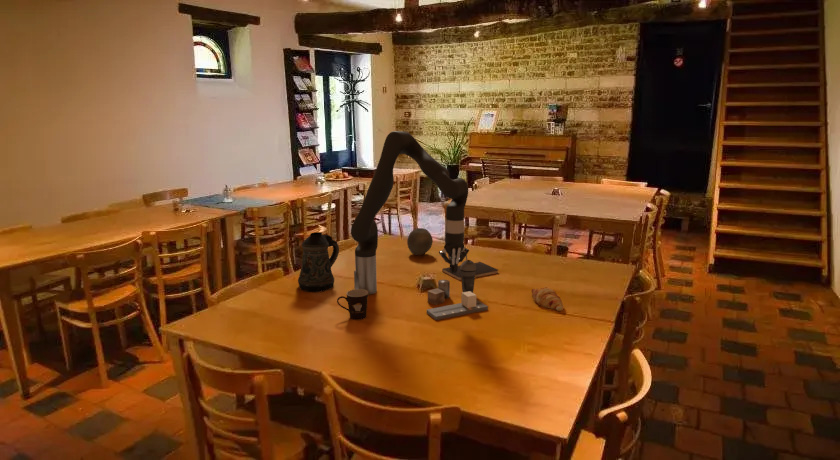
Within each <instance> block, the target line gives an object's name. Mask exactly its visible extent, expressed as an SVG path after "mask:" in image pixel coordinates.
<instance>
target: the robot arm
mask: <svg viewBox="0 0 840 460" xmlns="http://www.w3.org/2000/svg"><path fill="white" fill-rule="evenodd" d="M381 150H382V151H381V154H380V156H379V160H378V163H377V166H376V169H375V171H374V173H373V176H372V178H371V181H370V184H369V186H368V188H367V191H366V195H365V196H364V199H363V201H362V205H361V207H360V209H359V211H358V213H357V215H356V217H355V219H354V221H353V223H352V225H351V227H350V234H351V237H352V239H353V240H354V241H355V242H358V244H357V246H356V247H355V249H354V263H355V264H354V267H355V270H354V271H353V277H354V280H353V283H354V289H363V290H367V291H368V296H369V295H373V294H376V293H377V292H378V291H377V290H378V284H377V280H378V279H377V250H378V246H379V245H378V243H379V242H378V241H379V239H378V237H379V230H378V225H377V223H376V221H375V220H374V219H375V218H376V215H377V214H378V213H379V211H380V210H381V209H382V207H384V205H385V204H386V203H387V201H388V199H389V197H390V196H391V192H392V190H393V187H394V184H395V183H394V182H395V181H394V180H395V179H394V178H395V177H394V168H395V167H394V166H395V164H396V162H397V160H398V157H399V155H406V156H408V157H410V159H413V161H414V162H416V163H417V165H418V166H419V168H420V170H421V172H422V173H423V174H424V175H425V177H427V178H428V179H430V180H431V182H433V183H434V184H435V185H436V187H437V188H438V189H439V191H440V192H441V193H442V194H443V196H445V198H448V199H451V201H450V203H448V204H447V205H446V208H445V223H444V245H443V249H442V250H439V251H438V254H439V255H440V257H441V258H442V259H443V261H444V262H445V263H447V264H449V267H450V271H451V273H456V272H457V270H458V266H459V263H463V262H464V259H466V255H467V256H468V253H469V252H470V250H469V248H466V247H465V244H464V242H465V207H466V204H467V200H468V196H469V185H468V183H467V181H466V180H465V179H463V178H455V179H453V178H450V172H449V170H448V169H447V168H446V167H445V166H444V165H442V164H441V163H440V162H438V161H437V160H436V159H435V158H433V156H431V155H430V154H429V153H428V152H427V151H426V150H425V149H424V147H422V145H421V144H420V143H419V141H417V139H416V138H415V137H414V136H413V135H412V134H411V133H410V132H408V131H405V130H403V131H401V130H392V131H391V132H389V133H388V134H387V136H386V137H385V140H384V142H383V147H382V149H381Z"/></svg>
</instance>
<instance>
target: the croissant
mask: <svg viewBox="0 0 840 460" xmlns="http://www.w3.org/2000/svg"><path fill="white" fill-rule="evenodd" d="M531 297H532V298H533V301H534V302H535V303H536V304H537V305H539V306H541V307H544V308H548V309H552V310H554V311H558V312H561V311H563V309H564V304H563V300H562V298H561V297H560V295H558V294H557V292H556V291H555V290H554V289H552V288H549V287H543V288H541V287H540V288H532V289H531Z"/></svg>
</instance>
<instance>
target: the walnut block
mask: <svg viewBox="0 0 840 460" xmlns="http://www.w3.org/2000/svg"><path fill="white" fill-rule="evenodd" d="M427 303H429V304H430V305H431V304H432V305H433V306H434V305H435V306H437V305H441V304H443V303H445V299H444V291H442V290H439V289H438V287H437V288H433V289H429V290H427Z"/></svg>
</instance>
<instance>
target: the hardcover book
mask: <svg viewBox="0 0 840 460" xmlns="http://www.w3.org/2000/svg"><path fill="white" fill-rule="evenodd" d="M474 263H475V265H476V274H475V278H478V277H479V278H480V277H484V276H488V275H494V274H498V272H499V269H498V268H495V267H493V266H491V265H489V264H486V263H484V262H481V261H478V262H474ZM460 267H461V264H460V265H458V270H457V272H456V273H451V271H450V266H449V267H443V268H442V270H441V271H442V272H443V273H445V274H447V275H449V276H451V277H452V278H454V279H456V280H458V281H462V279H461V272H460Z"/></svg>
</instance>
